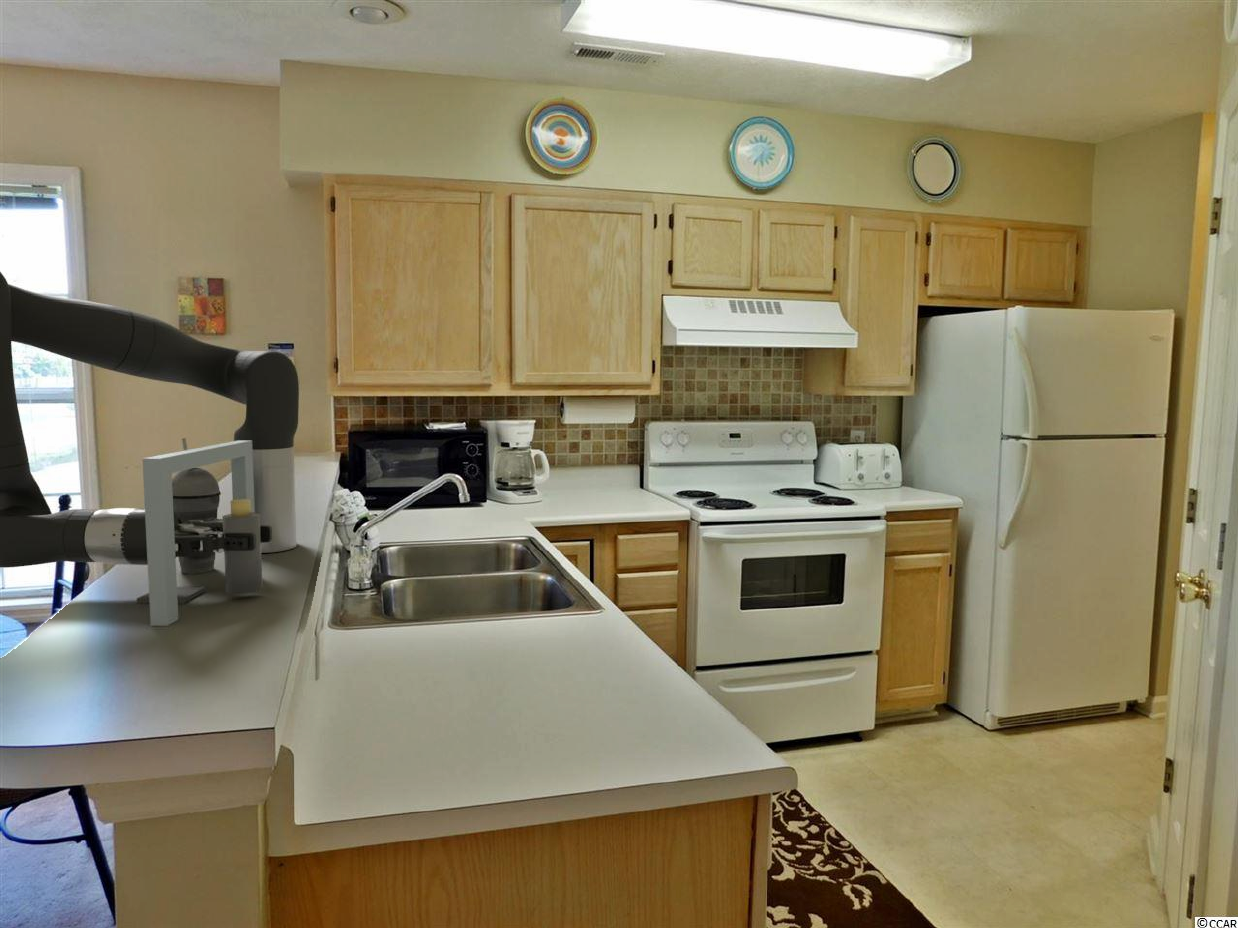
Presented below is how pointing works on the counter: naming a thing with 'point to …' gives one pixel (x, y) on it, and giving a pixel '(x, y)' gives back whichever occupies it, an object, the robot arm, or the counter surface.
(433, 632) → the counter surface
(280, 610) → the counter surface
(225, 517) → the bottle
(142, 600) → the mat
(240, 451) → the rectangular arch frame
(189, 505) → the beverage cup
